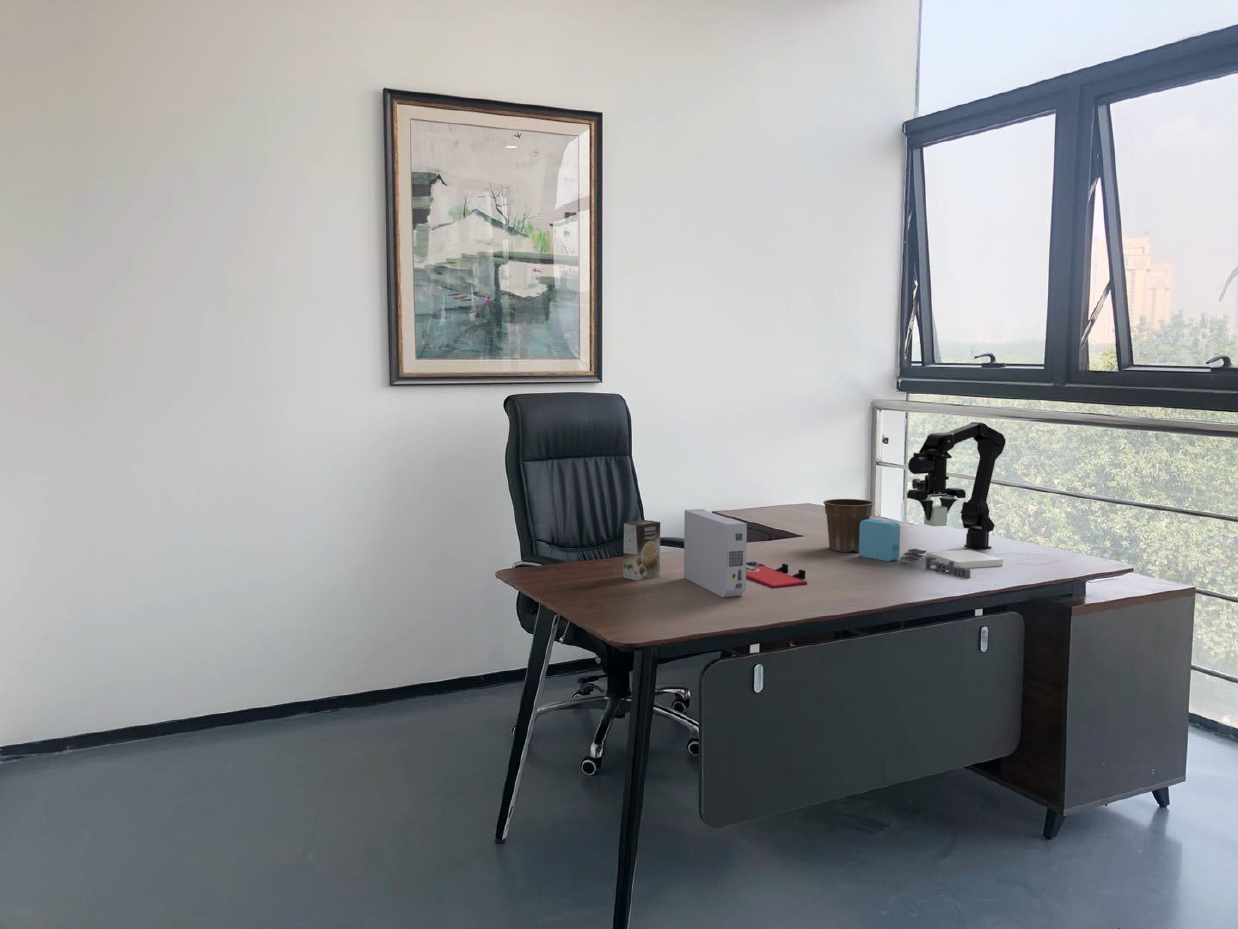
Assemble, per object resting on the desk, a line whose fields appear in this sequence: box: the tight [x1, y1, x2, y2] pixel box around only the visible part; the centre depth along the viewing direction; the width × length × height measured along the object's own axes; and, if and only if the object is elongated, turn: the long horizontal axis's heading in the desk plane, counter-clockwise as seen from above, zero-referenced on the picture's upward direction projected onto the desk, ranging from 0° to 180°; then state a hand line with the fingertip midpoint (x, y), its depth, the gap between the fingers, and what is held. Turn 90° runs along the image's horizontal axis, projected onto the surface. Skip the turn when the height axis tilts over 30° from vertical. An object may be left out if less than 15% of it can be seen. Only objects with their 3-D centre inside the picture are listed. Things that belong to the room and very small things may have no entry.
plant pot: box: [822, 498, 874, 553], centre depth 309 cm, size 16×16×16 cm
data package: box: [858, 518, 901, 562], centre depth 294 cm, size 12×4×12 cm, turn 43°
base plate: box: [925, 549, 1004, 569], centre depth 289 cm, size 16×16×2 cm
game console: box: [683, 508, 748, 598], centre depth 254 cm, size 6×27×20 cm, turn 20°
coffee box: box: [622, 519, 661, 582], centre depth 267 cm, size 9×6×16 cm
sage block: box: [923, 504, 948, 527], centre depth 302 cm, size 5×5×6 cm
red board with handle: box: [746, 560, 808, 589], centre depth 270 cm, size 30×3×15 cm
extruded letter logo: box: [899, 548, 971, 579], centre depth 277 cm, size 25×2×6 cm, turn 30°
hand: (935, 520), depth 302 cm, fingers closed on sage block, 5 cm apart
